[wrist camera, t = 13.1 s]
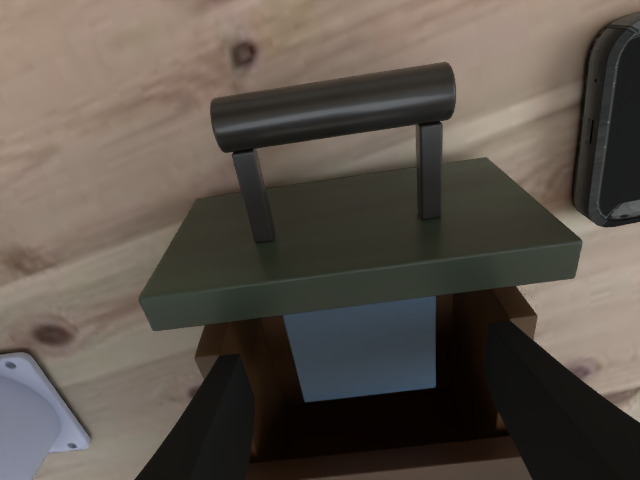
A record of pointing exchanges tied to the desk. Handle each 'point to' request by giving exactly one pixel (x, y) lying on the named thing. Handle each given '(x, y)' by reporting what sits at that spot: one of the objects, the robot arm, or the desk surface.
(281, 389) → the drawer
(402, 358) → the block
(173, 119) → the desk surface
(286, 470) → the cabinet
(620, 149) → the phone
